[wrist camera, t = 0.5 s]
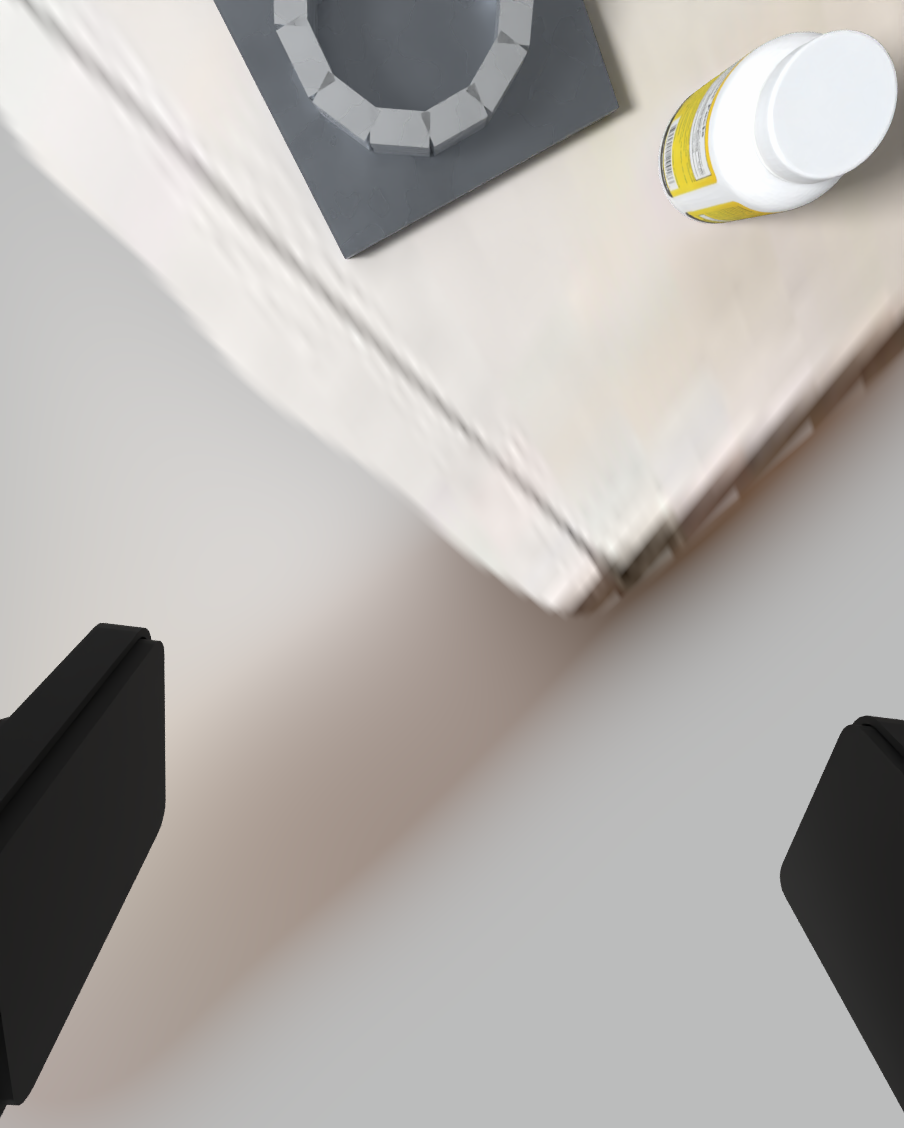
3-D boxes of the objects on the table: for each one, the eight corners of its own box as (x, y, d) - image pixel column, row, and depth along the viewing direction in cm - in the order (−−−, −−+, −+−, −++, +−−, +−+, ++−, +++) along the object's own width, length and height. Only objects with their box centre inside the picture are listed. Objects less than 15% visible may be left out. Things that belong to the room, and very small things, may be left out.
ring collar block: (483, -269, 25) (490, -346, 22) (613, 112, 30) (634, 93, 27) (182, -68, 27) (148, -112, 24) (347, 259, 32) (337, 258, 29)
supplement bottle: (803, 153, 31) (956, 106, 22) (705, 251, 32) (810, 245, 23) (728, 49, 29) (859, -48, 20) (629, 157, 31) (709, 111, 22)
